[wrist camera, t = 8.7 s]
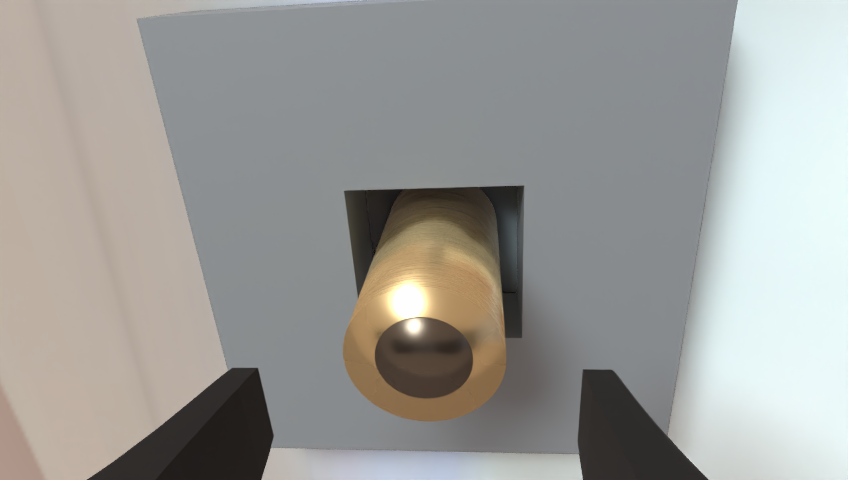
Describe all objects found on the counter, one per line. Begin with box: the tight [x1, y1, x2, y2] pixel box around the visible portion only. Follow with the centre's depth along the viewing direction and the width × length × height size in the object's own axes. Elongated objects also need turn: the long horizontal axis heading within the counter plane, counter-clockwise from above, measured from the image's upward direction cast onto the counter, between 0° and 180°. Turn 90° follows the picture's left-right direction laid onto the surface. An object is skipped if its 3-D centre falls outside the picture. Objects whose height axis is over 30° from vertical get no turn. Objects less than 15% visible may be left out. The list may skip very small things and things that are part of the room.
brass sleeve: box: [343, 187, 506, 422], centre depth 17 cm, size 4×4×8 cm
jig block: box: [137, 0, 738, 454], centre depth 20 cm, size 16×16×3 cm
